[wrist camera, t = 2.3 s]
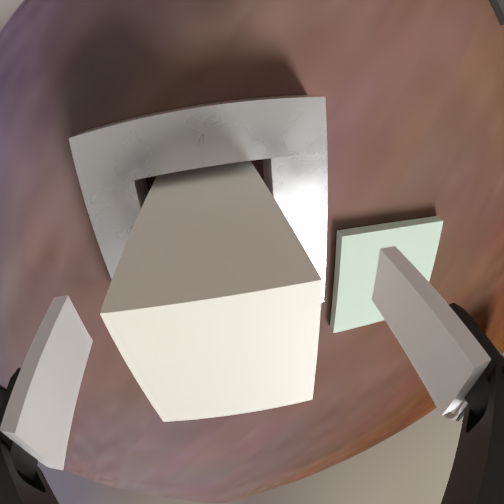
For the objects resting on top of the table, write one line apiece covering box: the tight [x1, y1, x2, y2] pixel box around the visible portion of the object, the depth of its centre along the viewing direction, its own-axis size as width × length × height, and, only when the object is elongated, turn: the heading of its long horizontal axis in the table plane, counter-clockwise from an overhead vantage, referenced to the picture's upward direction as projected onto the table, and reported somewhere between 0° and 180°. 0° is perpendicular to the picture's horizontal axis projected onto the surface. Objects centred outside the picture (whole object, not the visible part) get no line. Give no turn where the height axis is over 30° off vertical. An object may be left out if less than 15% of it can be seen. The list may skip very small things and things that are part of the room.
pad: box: [330, 216, 443, 333], centre depth 25 cm, size 10×10×1 cm
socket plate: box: [69, 95, 328, 302], centre depth 19 cm, size 14×14×3 cm
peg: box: [100, 161, 322, 422], centre depth 15 cm, size 6×6×13 cm
